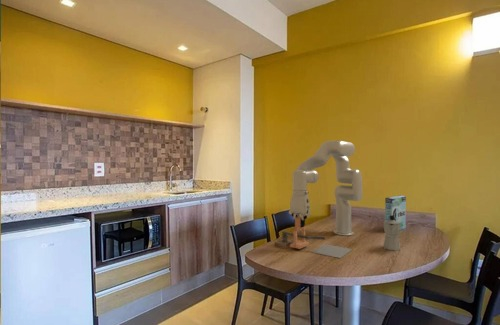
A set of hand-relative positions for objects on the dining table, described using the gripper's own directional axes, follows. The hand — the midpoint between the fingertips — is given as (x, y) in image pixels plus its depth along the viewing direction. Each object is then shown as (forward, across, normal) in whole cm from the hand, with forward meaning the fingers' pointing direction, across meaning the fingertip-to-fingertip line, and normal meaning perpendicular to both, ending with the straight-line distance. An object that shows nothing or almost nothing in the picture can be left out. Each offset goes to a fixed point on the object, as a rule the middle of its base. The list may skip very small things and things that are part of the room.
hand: (299, 226), depth 157 cm
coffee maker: (+12, -40, -32) cm, 52 cm away
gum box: (+12, -32, -77) cm, 85 cm away
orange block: (+11, 0, 0) cm, 11 cm away
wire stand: (+12, 0, 0) cm, 12 cm away
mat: (+12, -16, -6) cm, 21 cm away
